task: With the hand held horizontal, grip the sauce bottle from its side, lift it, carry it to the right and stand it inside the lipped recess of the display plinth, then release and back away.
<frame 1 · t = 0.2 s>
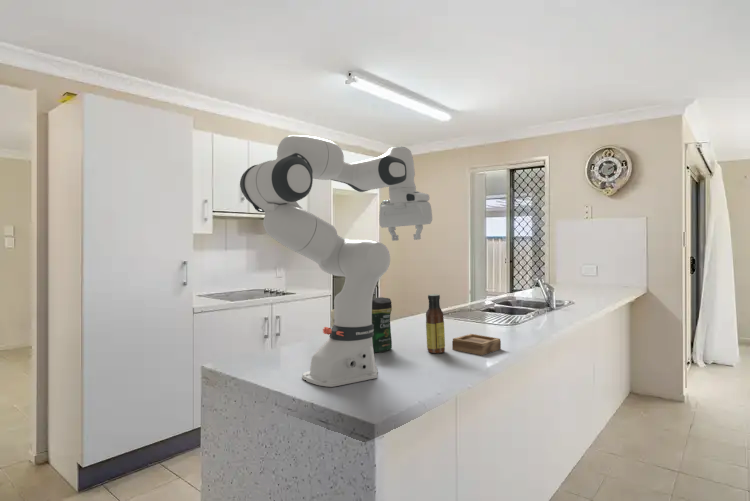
hand: (406, 240, 151), 39 cm above the worktop, tool pointing down, fingers open, 8 cm apart
display plinth: (476, 349, 162), on the worktop
sauce bottle: (435, 352, 159), on the worktop
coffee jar: (378, 350, 162), on the worktop
character mug: (340, 345, 171), on the worktop
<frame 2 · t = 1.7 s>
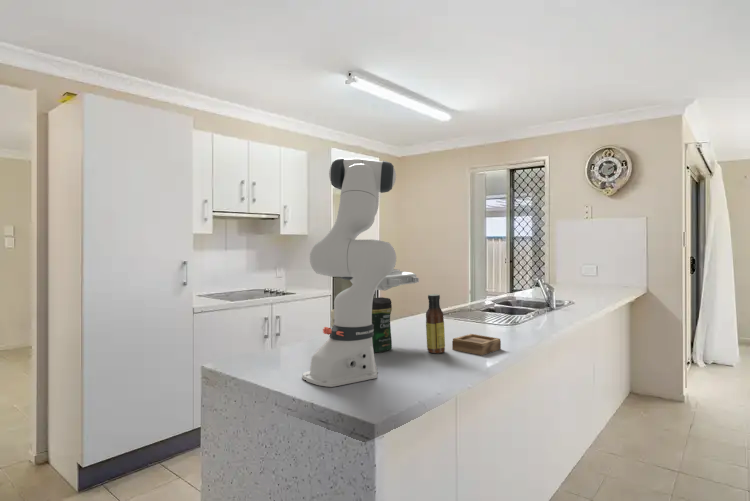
hand: (409, 281, 167), 24 cm above the worktop, tool horizontal, fingers open, 8 cm apart
nothing on the worktop moved.
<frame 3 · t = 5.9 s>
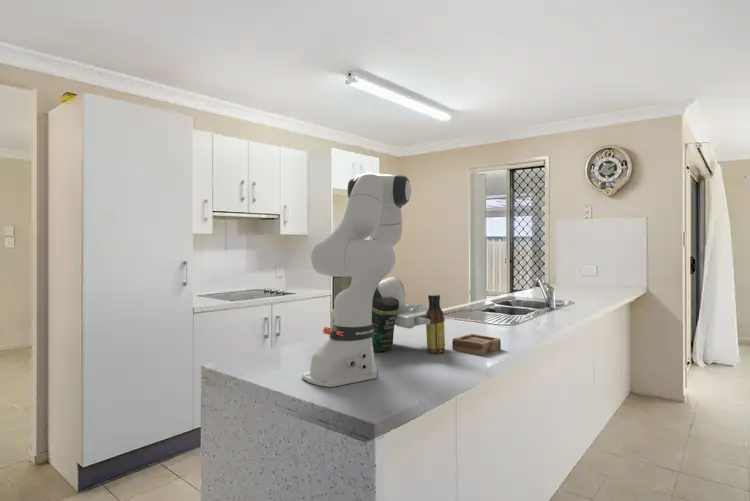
hand: (437, 320, 158), 11 cm above the worktop, tool horizontal, fingers closed on sauce bottle, 6 cm apart
sauce bottle: (435, 352, 159), on the worktop, touching gripper
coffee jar: (378, 348, 162), point 1 cm above the worktop, touching arm
everything else where it was.
when the fingers open (15 cm above the worktop, at t = 9.6 s): sauce bottle drops 1 cm, resting on display plinth.
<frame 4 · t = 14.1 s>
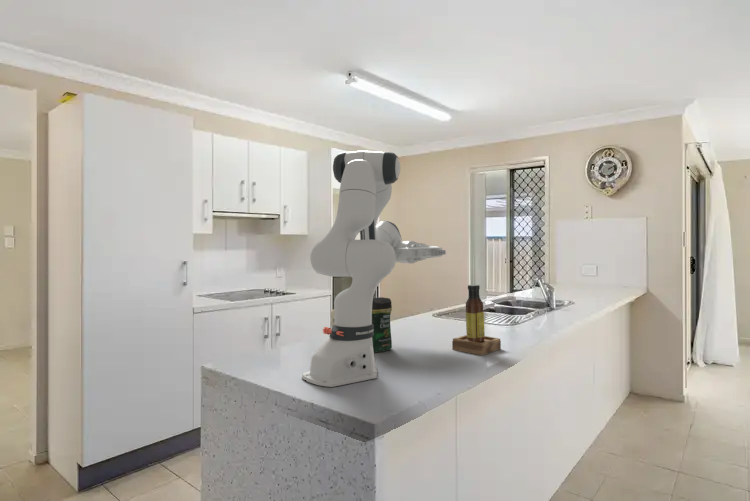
hand: (436, 252, 170), 34 cm above the worktop, tool horizontal, fingers open, 8 cm apart
sauce bottle: (475, 341, 162), point 3 cm above the worktop, touching display plinth
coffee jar: (378, 350, 162), on the worktop
everything else where it was.
at the end: sauce bottle inside the target area on the display plinth (0.8 cm from its centre), point 2.8 cm above the display plinth's base; sauce bottle tilted 0°; the gripper is holding nothing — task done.
